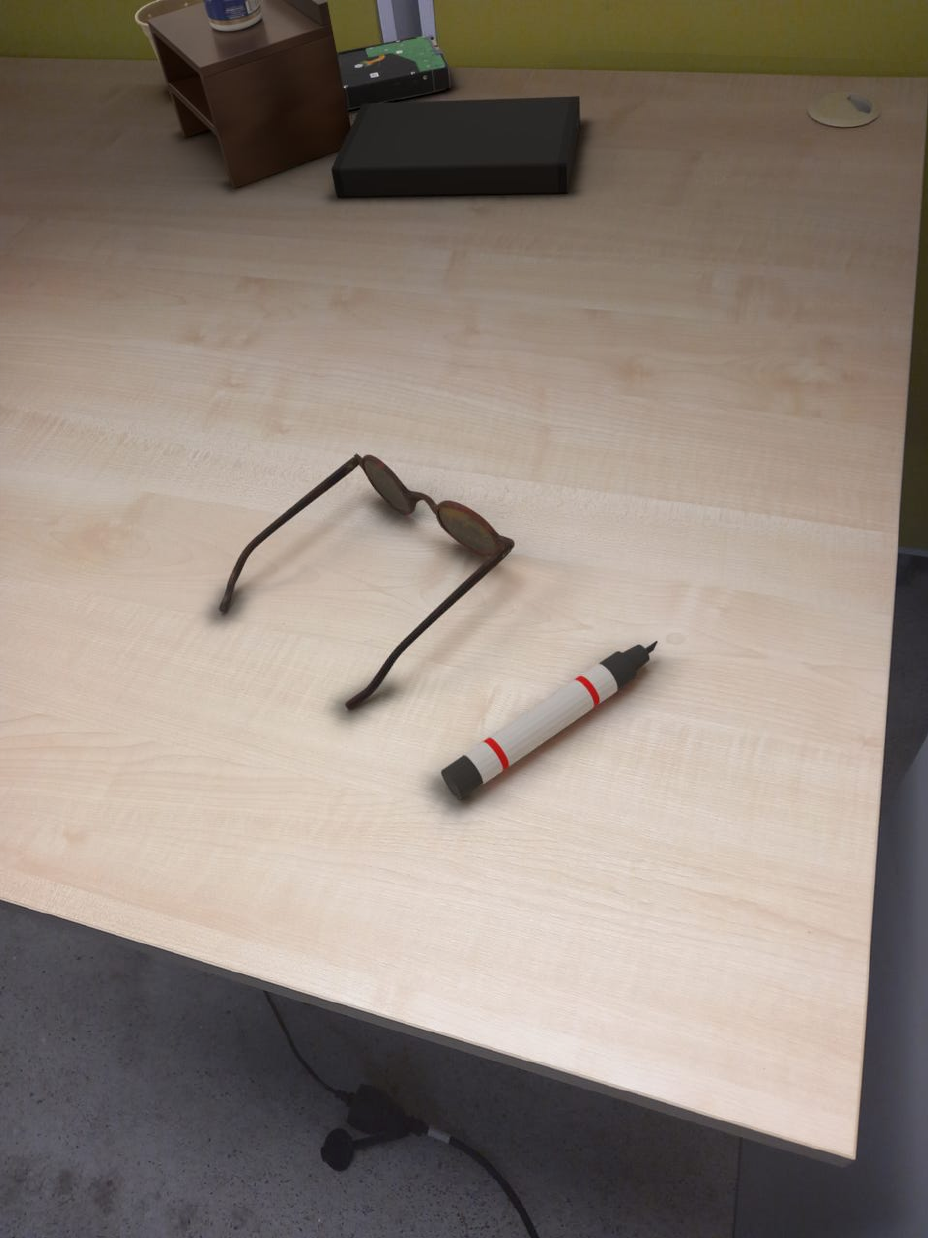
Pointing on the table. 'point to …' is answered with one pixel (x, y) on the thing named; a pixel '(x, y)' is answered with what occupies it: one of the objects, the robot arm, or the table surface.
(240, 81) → the rack
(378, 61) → the disk drive
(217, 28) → the pill bottle
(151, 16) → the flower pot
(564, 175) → the external hard drive
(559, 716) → the marker
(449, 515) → the eyeglasses
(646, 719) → the table surface
